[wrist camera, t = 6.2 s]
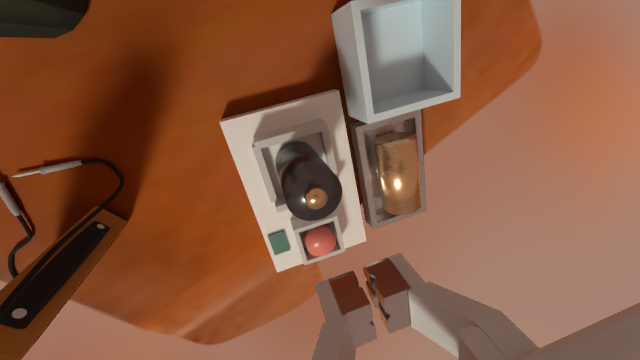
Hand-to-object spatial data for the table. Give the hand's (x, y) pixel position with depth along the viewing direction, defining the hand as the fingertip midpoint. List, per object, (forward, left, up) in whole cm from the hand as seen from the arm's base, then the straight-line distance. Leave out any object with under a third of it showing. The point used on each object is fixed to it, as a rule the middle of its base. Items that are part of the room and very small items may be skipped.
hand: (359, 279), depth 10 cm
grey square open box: (-6, +10, -16) cm, 20 cm away
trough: (+4, +9, -16) cm, 19 cm away
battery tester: (+3, 0, -16) cm, 17 cm away
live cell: (+4, +9, -16) cm, 19 cm away
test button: (+8, 0, -14) cm, 16 cm away
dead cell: (0, 0, -15) cm, 15 cm away
